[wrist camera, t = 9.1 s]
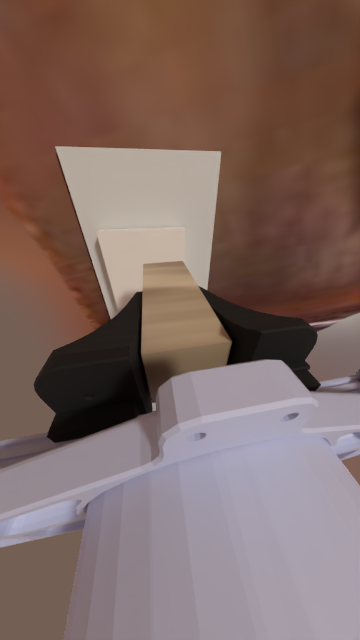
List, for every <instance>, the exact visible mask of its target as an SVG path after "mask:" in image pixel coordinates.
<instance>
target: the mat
mask: <svg viewBox="0 0 360 640" xmlns="http://www.w3.org/2000/svg"><path fill="white" fill-rule="evenodd" d="M55 148H56V151H57V154H58V157H59V160H60V163H61V166H62V169H63V173H64V176H65V179H66V182H67V185H68V188H69V191H70V194H71V197H72V200H73V204H74V207H75V210H76V213H77V216H78V219H79V222H80V225H81V228H82V232H83V235H84V238H85V241H86V244H87V247H88V250H89V253H90V256H91V259H92V263H93V266H94V269H95V272H96V275H97V278H98V281H99V284H100V287H101V291H102V294H103V297H104V300H105V303H106V306H107V309H108V312H109V315H110V318H111V319H112V318H114V317H115V316H116V315H117V314H118V313H119V312H120V311H121V310H122V309H123V308H118V309H117V305H116V301H115V298H114V294H113V291H112V287H111V283H110V280H109V276H108V273H107V269H106V265H105V262H104V258H103V255H102V251H101V247H100V244H99V240H98V237H97V233H96V232H97V231H98V230H103V229H134V228H164V227H183V228H185V265H186V267H187V269H188V270H189V272H190V274H191V275H192V277H193V279H194V280H195V282H196V283H197V285H198V286H200V287H202V288H204V289H206V290H207V287H208V277H209V267H210V257H211V247H212V237H213V228H214V218H215V208H216V198H217V188H218V179H219V169H220V159H221V152H220V151H187V150H155V149H122V148H90V147H57V146H55Z"/></svg>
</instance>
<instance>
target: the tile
mask: <svg viewBox="0 0 360 640" xmlns="http://www.w3.org/2000/svg"><path fill="white" fill-rule="evenodd" d="M96 233H97V237H98V240H99V244H100V247H101V251H102V255H103V258H104V262H105V265H106V269H107V273H108V276H109V280H110V283H111V287H112V291H113V294H114V298H115V301H116V305H117V309H118V308H124V307H125V306H126V305H127V303H128V302H129V301H130V300H131V298H132V297H133V296H134V294H135V293H136V292H142V291H143V264H148V263H162V262H175V261H183V262H184V264H185V228H183V227H164V228H134V229H103V230H98V231H97V232H96Z"/></svg>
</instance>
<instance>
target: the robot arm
mask: <svg viewBox="0 0 360 640" xmlns="http://www.w3.org/2000/svg"><path fill="white" fill-rule="evenodd" d="M198 287H199V288H200V290H201V292H202V293H203V295H204V296H205V298H206V300H207V301H208V303H209V305H210V306H211V308H212V309H213V311H214V313H215V314H216V316H217V318H218V319H219V321H220V323H221V324H222V326H223V327H224V329H225V331H226V332H227V334H228V336H229V337H230V339H231V340H232V345H231V349H230V353H229V357H228V362H227V365H225V366H219V367H213V368H206V369H200V370H194V371H188V372H185V373H182V374H179V375H176V376H173V377H171V378H170V379H169V380H168V381H166V382H165V383H164V384H163V385H161V386H160V387H159V388H158V392H157V395H156V411H153V412H152V398H151V394H150V390H149V386H148V381H147V377H146V373H145V369H144V364H143V360H142V356H141V339H142V295H143V291H142V292H136V293H135V294H134V296H133V297H132V298H131V300H130V301H129V302H128V303H127V305H126V306H125V307H124V308H123V309H122V310H121V311H120V312H119V313H118V314H117V315H116V316H115V317H114V318H112V319H111V320H110V321H108V322H107V323H106V324H104V325H103V326H101V327H100V328H98V329H97V330H95V331H93V332H92V333H90V334H88V335H86V336H84V337H83V338H81V339H78V340H76V341H74V342H72V343H70V344H67V345H65V346H63V347H60V348H58V349H56V350H53V352H52V353H51V355H50V356H49V358H48V360H47V361H46V363H45V365H44V366H43V368H42V370H41V371H40V373H39V375H38V376H37V378H36V380H35V383H34V388H35V391H36V393H37V394H38V396H39V397H40V398H41V399H42V400H43V401H44V402H45V403H46V404H47V405H48V406H49V407H50V408H51V409H52V410H53V411H54V412H55V413H56V415H55V417H54V420H53V422H52V424H51V427H50V429H49V432H46V433H41V434H35V435H30V436H24V437H19V438H14V439H8V440H3V441H0V548H1V547H5V546H9V545H14V544H18V543H23V542H27V541H32V540H37V539H41V538H46V537H50V536H54V535H59V534H63V533H68V532H72V531H77V530H82V529H84V530H83V536H82V541H81V546H80V552H79V557H78V563H77V568H76V574H75V579H74V585H73V590H72V596H71V601H70V607H69V612H68V618H67V623H66V628H65V634H64V639H63V640H360V486H359V484H358V483H357V482H356V480H355V479H354V478H353V476H352V475H351V474H350V472H349V471H348V470H347V468H346V467H345V466H344V464H343V463H342V462H341V460H343V459H346V458H350V457H353V456H357V455H359V454H360V370H359V371H358V372H357V373H356V375H353V376H348V377H342V378H337V379H332V380H326V381H321V382H318V381H317V380H316V379H315V378H314V377H313V376H312V375H311V373H310V372H309V371H308V370H309V369H310V366H309V365H308V364H307V363H306V362H305V359H306V358H307V356H308V355H309V353H310V352H311V350H312V349H313V347H314V345H315V344H316V341H317V331H316V330H315V329H314V328H313V327H312V326H310V325H309V324H308V323H307V322H305V321H304V320H303V319H300V318H292V317H284V316H277V315H271V314H266V313H262V312H257V311H254V310H250V309H247V308H244V307H241V306H238V305H235V304H233V303H230V302H228V301H226V300H224V299H222V298H220V297H218V296H216V295H214V294H213V293H211V292H209V291H207V290H206V289H204V288H202V287H200V286H198Z"/></svg>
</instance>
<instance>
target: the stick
mask: <svg viewBox="0 0 360 640" xmlns="http://www.w3.org/2000/svg"><path fill="white" fill-rule="evenodd" d="M231 345H232V340H231V339H230V337H229V336H228V334H227V332H226V331H225V329H224V327H223V326H222V324H221V323H220V321H219V319H218V318H217V316H216V314H215V313H214V311H213V309H212V308H211V306H210V305H209V303H208V301H207V300H206V298H205V296H204V295H203V293H202V292H201V290H200V288H199V287H198V285H197V283H196V282H195V280H194V279H193V277H192V275H191V274H190V272H189V270H188V269H187V267H186V265H185V264H184V262H183V261H175V262H162V263H148V264H143V295H142V339H141V356H142V360H143V364H144V369H145V373H146V377H147V381H148V386H149V390H150V394H151V398H152V402H153V403H154V402H156V395H157V392H158V388H159V387H160V386H161V385H163V384H164V383H165V382H166V381H168V380H169V379H170V378H171V377H173V376H176V375H179V374H182V373H185V372H188V371H194V370H200V369H206V368H213V367H219V366H225V365H227V362H228V357H229V353H230V349H231Z"/></svg>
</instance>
